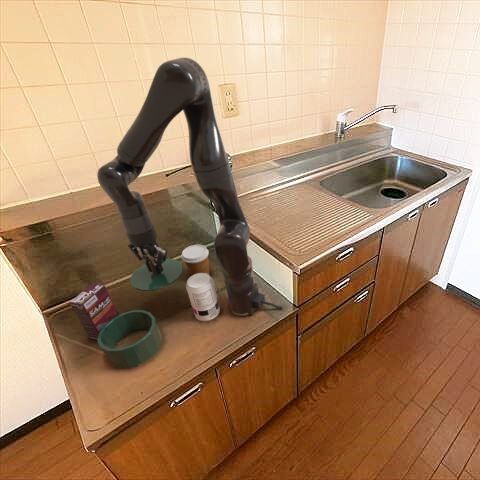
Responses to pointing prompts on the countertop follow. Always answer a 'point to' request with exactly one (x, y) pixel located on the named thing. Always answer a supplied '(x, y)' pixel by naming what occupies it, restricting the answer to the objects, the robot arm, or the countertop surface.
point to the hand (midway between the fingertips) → (156, 271)
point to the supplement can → (203, 296)
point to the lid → (156, 275)
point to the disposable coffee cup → (196, 259)
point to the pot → (138, 350)
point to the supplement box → (94, 309)
